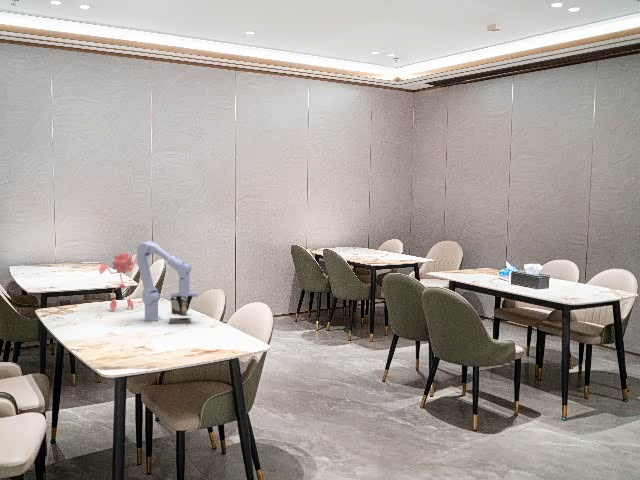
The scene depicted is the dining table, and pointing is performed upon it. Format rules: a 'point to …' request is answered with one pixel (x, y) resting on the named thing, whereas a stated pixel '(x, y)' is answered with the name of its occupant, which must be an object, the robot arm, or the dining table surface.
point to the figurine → (121, 265)
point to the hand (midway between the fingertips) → (184, 309)
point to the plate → (180, 321)
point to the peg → (183, 306)
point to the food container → (177, 306)
